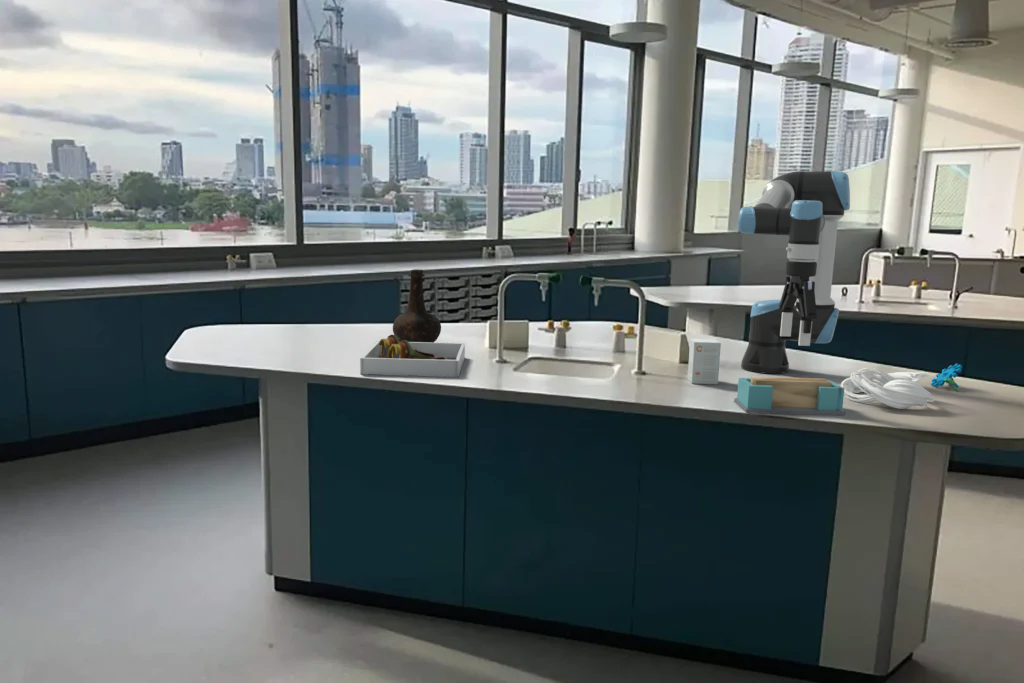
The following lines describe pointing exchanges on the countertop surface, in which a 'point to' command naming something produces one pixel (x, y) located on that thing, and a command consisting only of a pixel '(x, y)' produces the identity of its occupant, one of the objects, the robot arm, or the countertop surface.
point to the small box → (704, 361)
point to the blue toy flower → (947, 377)
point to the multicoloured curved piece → (402, 350)
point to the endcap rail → (761, 400)
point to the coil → (888, 388)
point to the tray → (416, 361)
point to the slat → (793, 390)
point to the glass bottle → (416, 315)
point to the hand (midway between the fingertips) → (794, 340)
